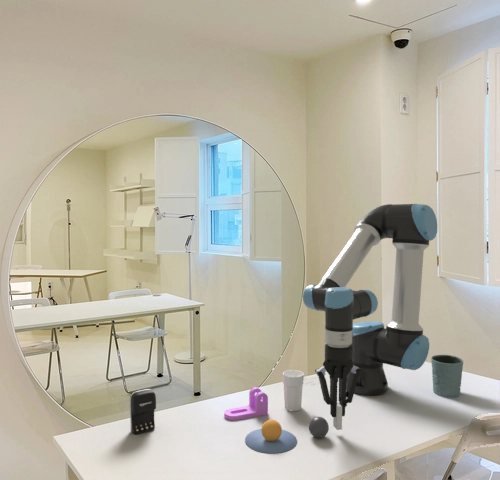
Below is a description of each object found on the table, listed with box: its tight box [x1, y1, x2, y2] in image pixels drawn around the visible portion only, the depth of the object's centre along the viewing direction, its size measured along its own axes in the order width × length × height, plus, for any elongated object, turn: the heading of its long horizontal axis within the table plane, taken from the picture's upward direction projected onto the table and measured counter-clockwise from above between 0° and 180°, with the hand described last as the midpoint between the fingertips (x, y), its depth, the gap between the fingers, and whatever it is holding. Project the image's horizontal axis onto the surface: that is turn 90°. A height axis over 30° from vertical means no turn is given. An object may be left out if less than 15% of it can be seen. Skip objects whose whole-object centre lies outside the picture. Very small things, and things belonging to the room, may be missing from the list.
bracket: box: [223, 386, 269, 421], centre depth 147 cm, size 13×6×7 cm, turn 114°
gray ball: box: [308, 416, 330, 439], centre depth 132 cm, size 6×6×6 cm
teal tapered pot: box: [430, 354, 464, 399], centre depth 164 cm, size 10×10×12 cm
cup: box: [282, 369, 305, 412], centre depth 152 cm, size 7×7×11 cm
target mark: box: [244, 428, 298, 454], centre depth 130 cm, size 14×14×1 cm
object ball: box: [260, 419, 283, 441], centre depth 130 cm, size 6×6×6 cm
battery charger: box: [129, 388, 157, 435], centre depth 135 cm, size 7×4×11 cm, turn 124°
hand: (337, 427), depth 134 cm, fingers closed
